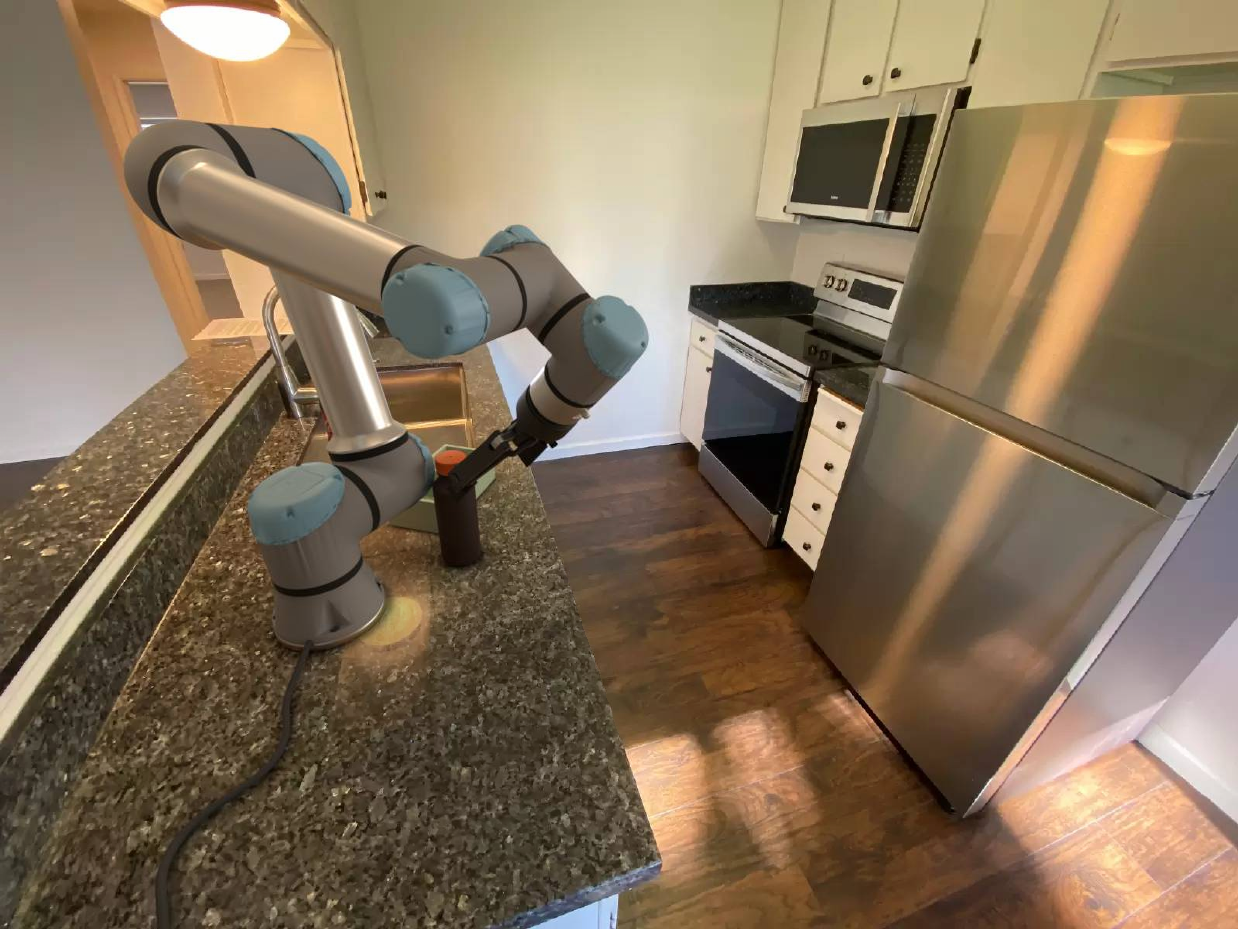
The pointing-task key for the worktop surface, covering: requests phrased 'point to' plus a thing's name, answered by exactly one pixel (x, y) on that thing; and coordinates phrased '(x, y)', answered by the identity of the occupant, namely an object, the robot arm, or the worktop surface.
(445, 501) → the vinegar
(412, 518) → the divided storage box
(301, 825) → the worktop surface
